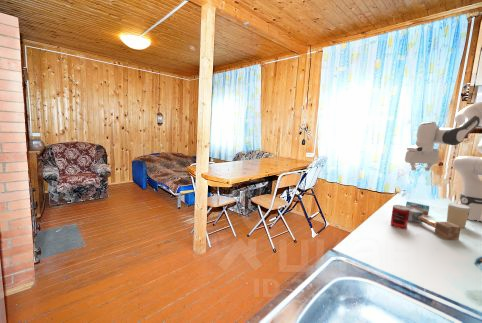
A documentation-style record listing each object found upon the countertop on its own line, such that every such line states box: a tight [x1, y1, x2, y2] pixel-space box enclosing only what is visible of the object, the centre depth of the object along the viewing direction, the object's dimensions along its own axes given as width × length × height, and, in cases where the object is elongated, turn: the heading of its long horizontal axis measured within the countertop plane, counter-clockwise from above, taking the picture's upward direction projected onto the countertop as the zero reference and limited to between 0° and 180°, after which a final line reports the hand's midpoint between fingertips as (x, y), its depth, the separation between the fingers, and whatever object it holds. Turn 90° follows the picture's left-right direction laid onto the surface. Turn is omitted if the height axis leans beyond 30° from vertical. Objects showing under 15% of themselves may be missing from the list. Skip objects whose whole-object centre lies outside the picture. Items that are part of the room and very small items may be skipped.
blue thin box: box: [405, 200, 430, 216], centre depth 151 cm, size 12×2×6 cm, turn 45°
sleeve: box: [408, 209, 424, 224], centre depth 136 cm, size 7×6×6 cm
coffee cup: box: [446, 202, 470, 229], centre depth 131 cm, size 9×9×12 cm
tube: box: [418, 215, 437, 228], centre depth 123 cm, size 4×16×4 cm, turn 6°
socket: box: [434, 221, 462, 241], centre depth 116 cm, size 7×6×7 cm
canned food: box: [390, 204, 410, 230], centre depth 127 cm, size 8×8×11 cm
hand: (420, 170), depth 142 cm, fingers open, 8 cm apart
